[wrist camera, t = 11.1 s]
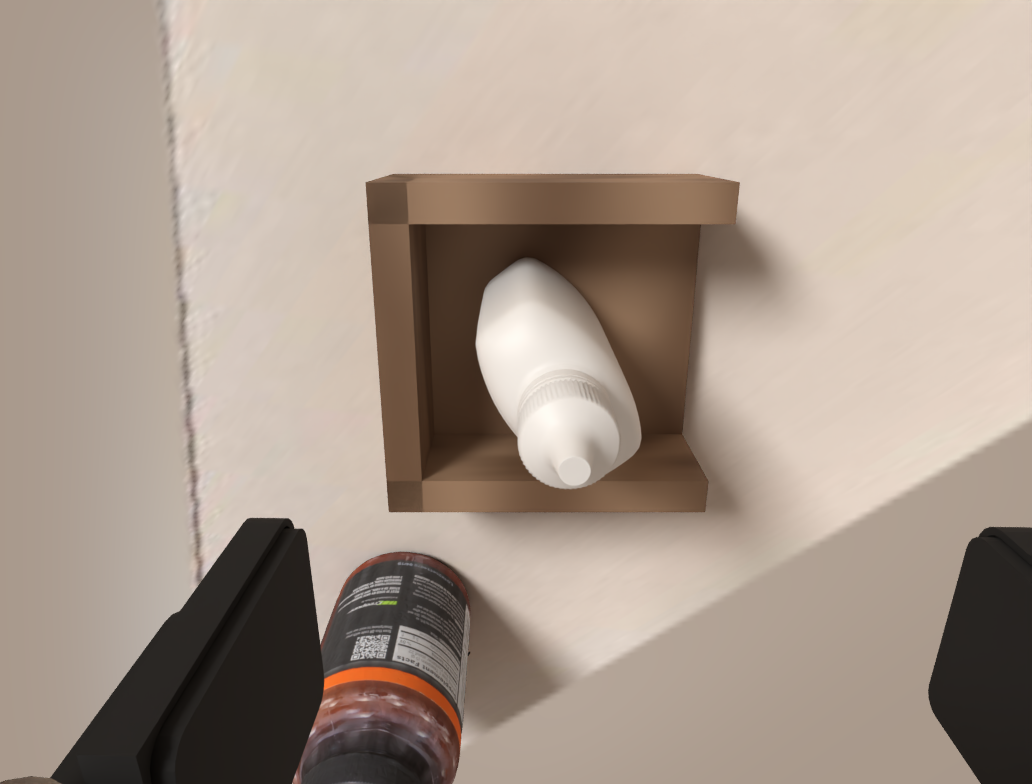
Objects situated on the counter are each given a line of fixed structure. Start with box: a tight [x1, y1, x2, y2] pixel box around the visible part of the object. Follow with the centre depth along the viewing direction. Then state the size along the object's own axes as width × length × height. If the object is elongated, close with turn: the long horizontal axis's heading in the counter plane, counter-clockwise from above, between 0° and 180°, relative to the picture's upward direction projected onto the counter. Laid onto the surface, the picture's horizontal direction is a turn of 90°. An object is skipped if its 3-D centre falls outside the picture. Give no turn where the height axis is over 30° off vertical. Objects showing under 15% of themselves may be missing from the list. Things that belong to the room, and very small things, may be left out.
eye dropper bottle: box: [476, 257, 641, 490], centre depth 21 cm, size 4×6×12 cm
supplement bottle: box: [293, 552, 470, 784], centre depth 26 cm, size 6×6×11 cm
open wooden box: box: [366, 174, 740, 512], centre depth 25 cm, size 11×11×5 cm
